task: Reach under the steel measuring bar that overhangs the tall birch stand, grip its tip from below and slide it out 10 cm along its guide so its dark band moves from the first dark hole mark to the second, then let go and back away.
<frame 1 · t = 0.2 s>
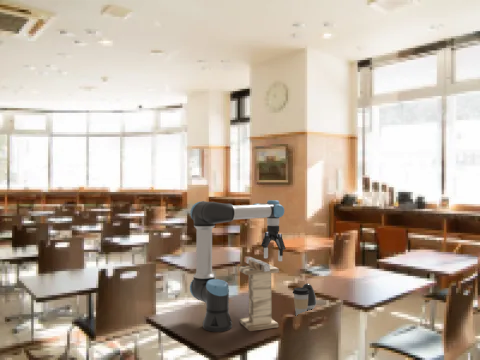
hand: (272, 259, 251), 28 cm above the table, tool pointing down, fingers open, 13 cm apart
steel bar: (256, 263, 217), point 32 cm above the table, slide at 0.0 cm
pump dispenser: (307, 309, 241), on the table
birch stand: (257, 323, 216), on the table
coffee cup: (301, 316, 229), on the table
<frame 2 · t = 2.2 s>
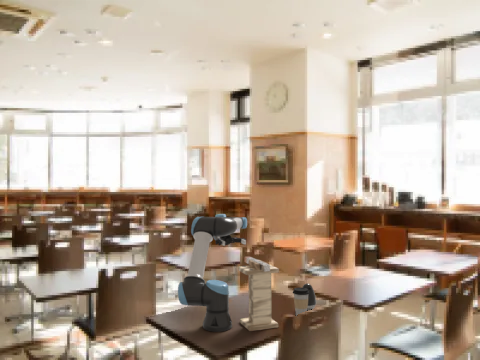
hand: (235, 243, 250), 38 cm above the table, tool horizontal, fingers open, 13 cm apart
nothing on the table moved.
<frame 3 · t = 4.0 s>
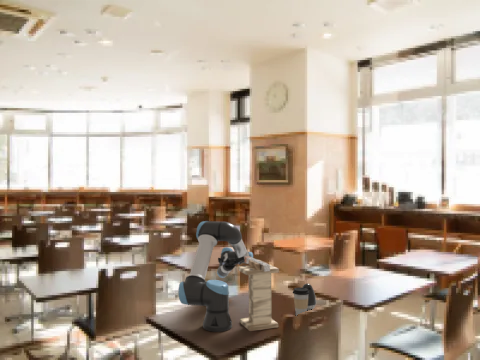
hand: (237, 254, 246), 32 cm above the table, tool pointing upward, fingers open, 13 cm apart
nothing on the table moved.
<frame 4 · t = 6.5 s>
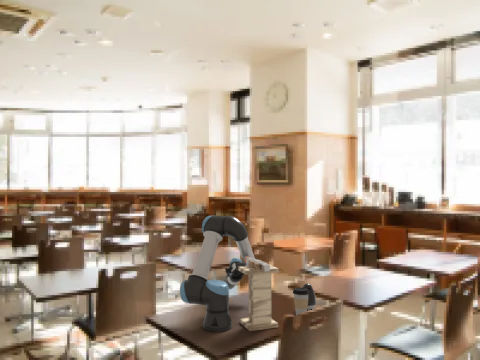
hand: (245, 264, 234), 28 cm above the table, tool pointing upward, fingers open, 13 cm apart
nothing on the table moved.
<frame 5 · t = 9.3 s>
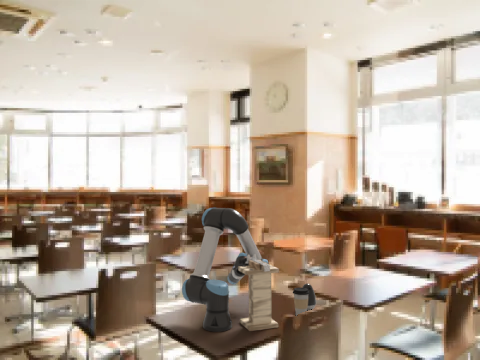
hand: (252, 256, 223), 34 cm above the table, tool pointing upward, fingers closed on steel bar, 3 cm apart
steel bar: (256, 263, 217), point 32 cm above the table, slide at 0.0 cm, touching gripper
everything else where it was.
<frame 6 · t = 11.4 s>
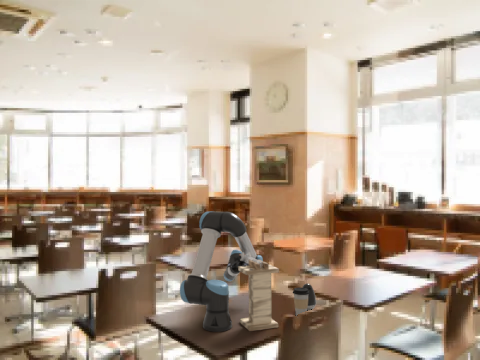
hand: (246, 254, 231), 34 cm above the table, tool pointing upward, fingers closed on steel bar, 3 cm apart
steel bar: (250, 260, 226), point 32 cm above the table, slide at 8.7 cm, touching gripper
everything else where it was.
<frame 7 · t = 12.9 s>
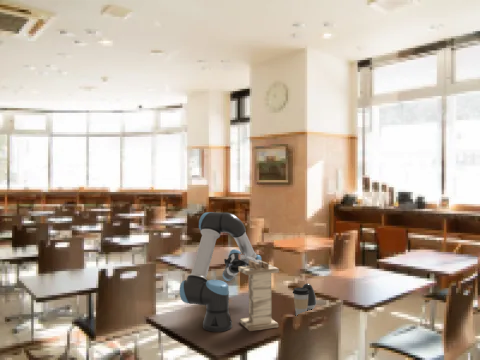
hand: (244, 255, 234), 33 cm above the table, tool pointing upward, fingers open, 13 cm apart
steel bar: (249, 260, 227), point 32 cm above the table, slide at 10.0 cm
everything else where it was.
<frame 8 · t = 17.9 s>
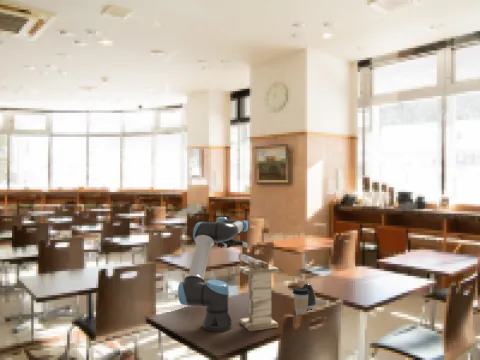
hand: (236, 245, 254), 36 cm above the table, tool horizontal, fingers open, 13 cm apart
nothing on the table moved.
at the end: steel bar slide at 10.0 cm; the gripper is holding nothing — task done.
